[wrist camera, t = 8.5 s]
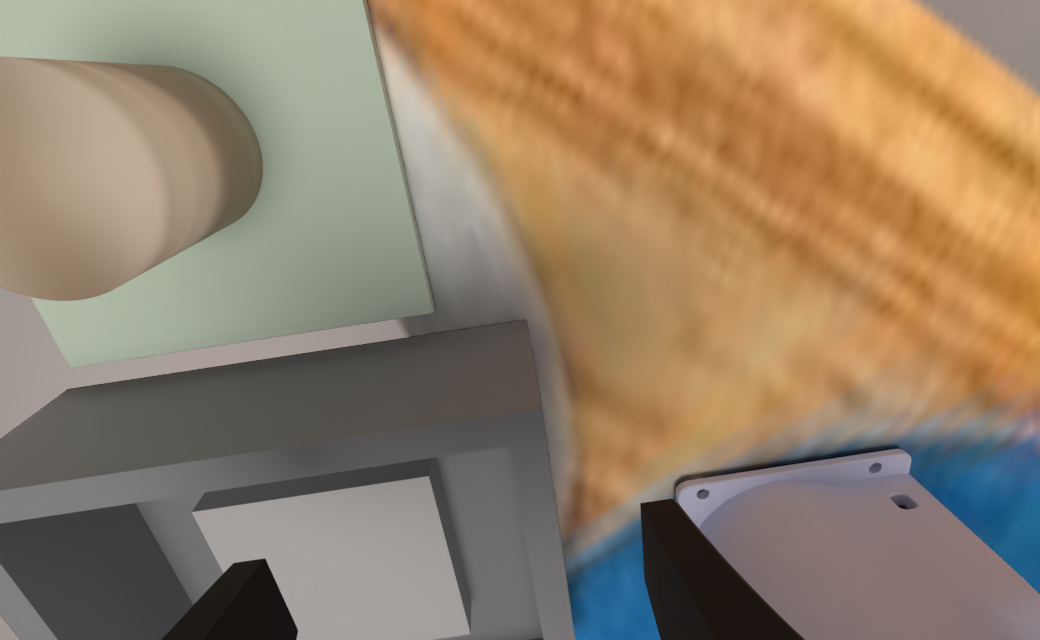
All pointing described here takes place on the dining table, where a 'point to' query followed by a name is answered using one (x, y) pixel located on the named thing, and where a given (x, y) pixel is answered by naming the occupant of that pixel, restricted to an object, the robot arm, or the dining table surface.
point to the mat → (285, 182)
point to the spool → (113, 171)
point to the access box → (295, 496)
